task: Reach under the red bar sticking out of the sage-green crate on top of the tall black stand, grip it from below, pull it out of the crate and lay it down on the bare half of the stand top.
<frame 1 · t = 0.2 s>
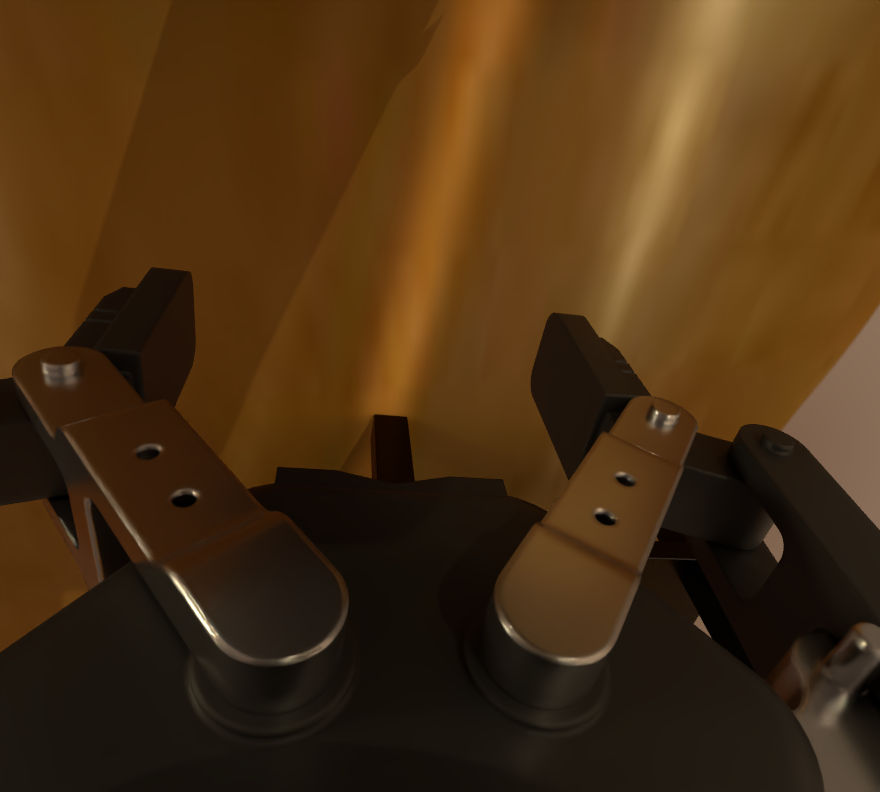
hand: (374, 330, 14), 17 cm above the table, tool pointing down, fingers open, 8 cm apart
stand: (486, 532, 43), on the table
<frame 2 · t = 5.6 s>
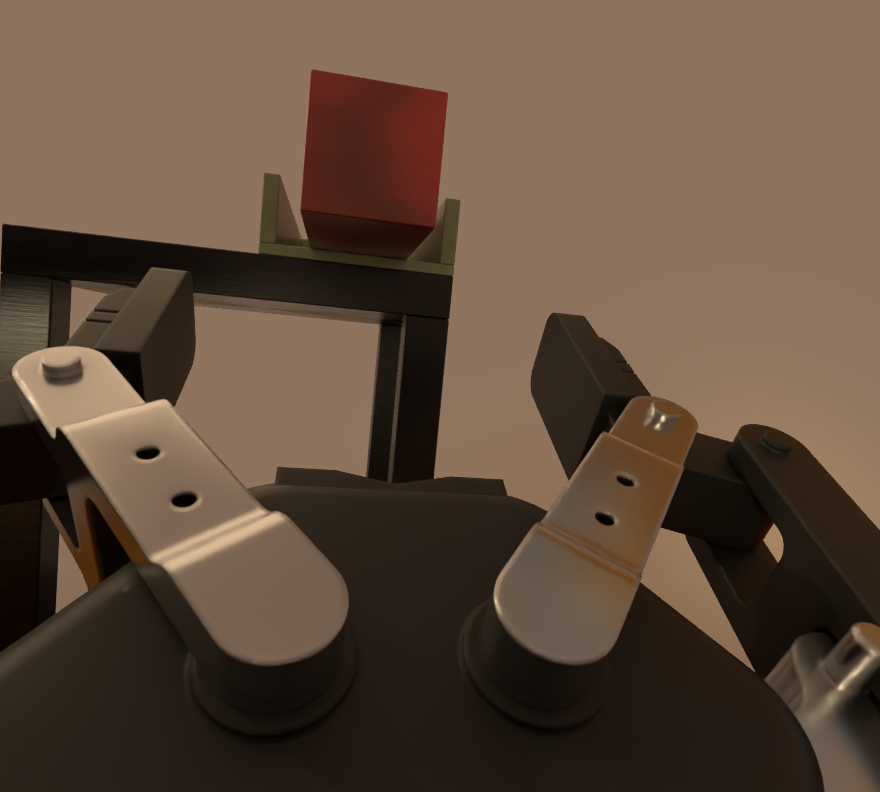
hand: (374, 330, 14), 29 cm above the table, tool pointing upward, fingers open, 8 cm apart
red bar: (357, 262, 31), point 32 cm above the table, touching crate
crate: (352, 283, 37), resting on stand
stand: (226, 791, 38), on the table
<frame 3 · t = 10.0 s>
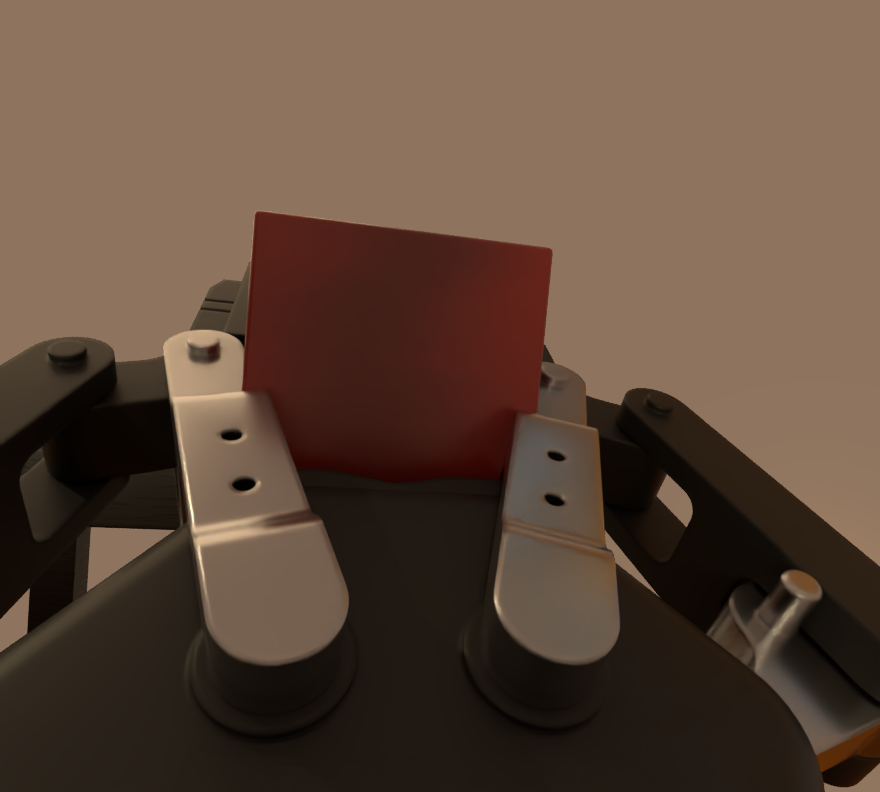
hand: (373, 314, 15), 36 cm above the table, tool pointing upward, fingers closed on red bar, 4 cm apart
red bar: (353, 434, 20), point 33 cm above the table, touching crate, gripper
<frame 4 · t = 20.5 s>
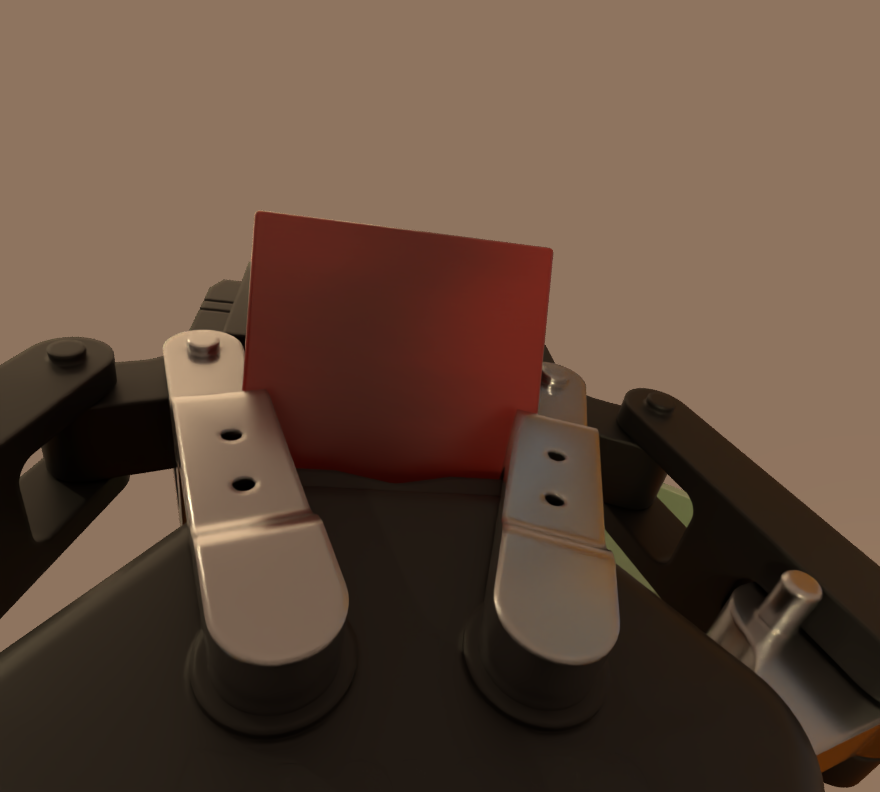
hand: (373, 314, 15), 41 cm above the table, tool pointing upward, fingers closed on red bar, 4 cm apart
red bar: (353, 434, 20), point 37 cm above the table, touching gripper
crate: (531, 531, 30), resting on stand
when the fingers open (36 cm above the table, at t = 23.4 s): red bar stays where it is, resting on stand.
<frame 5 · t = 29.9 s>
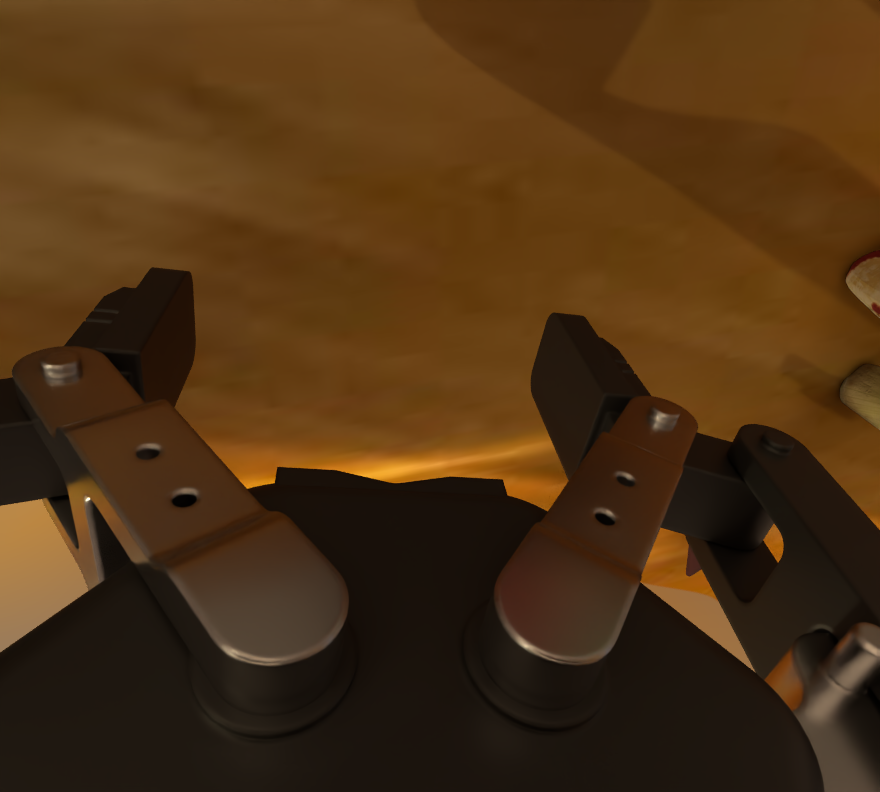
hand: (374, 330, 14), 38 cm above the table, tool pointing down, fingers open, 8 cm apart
food model: (877, 268, 58), on the table
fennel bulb: (856, 379, 65), on the table
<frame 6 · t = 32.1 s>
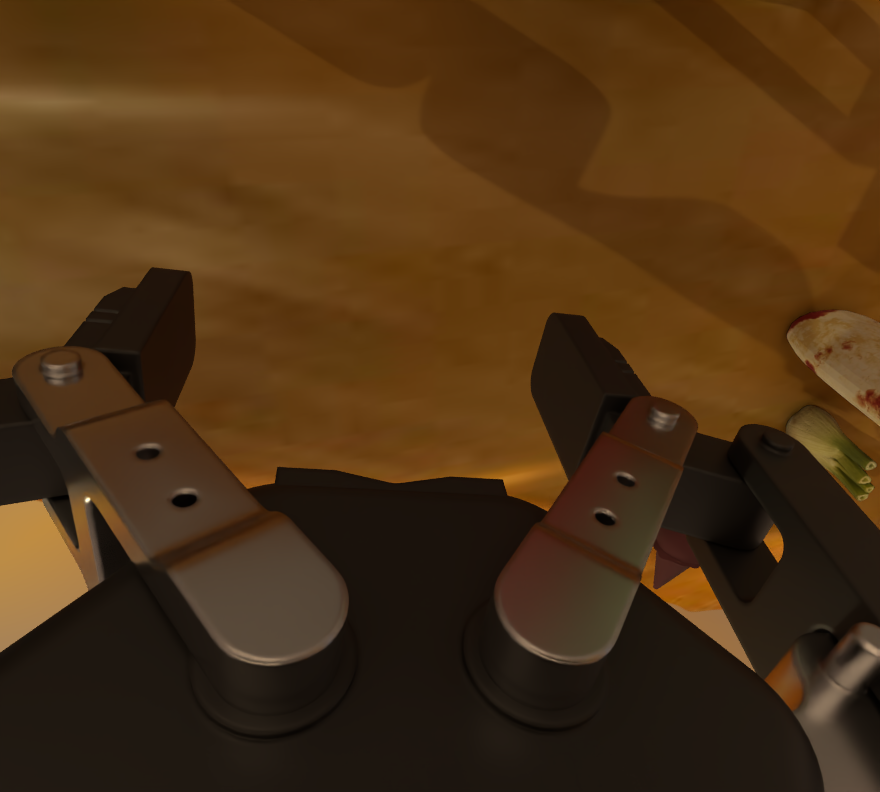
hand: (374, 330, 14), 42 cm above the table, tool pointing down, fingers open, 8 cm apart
food model: (814, 325, 67), on the table
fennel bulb: (801, 417, 74), on the table
icecream: (668, 526, 83), on the table
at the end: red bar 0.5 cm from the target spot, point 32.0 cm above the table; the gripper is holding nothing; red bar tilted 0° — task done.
